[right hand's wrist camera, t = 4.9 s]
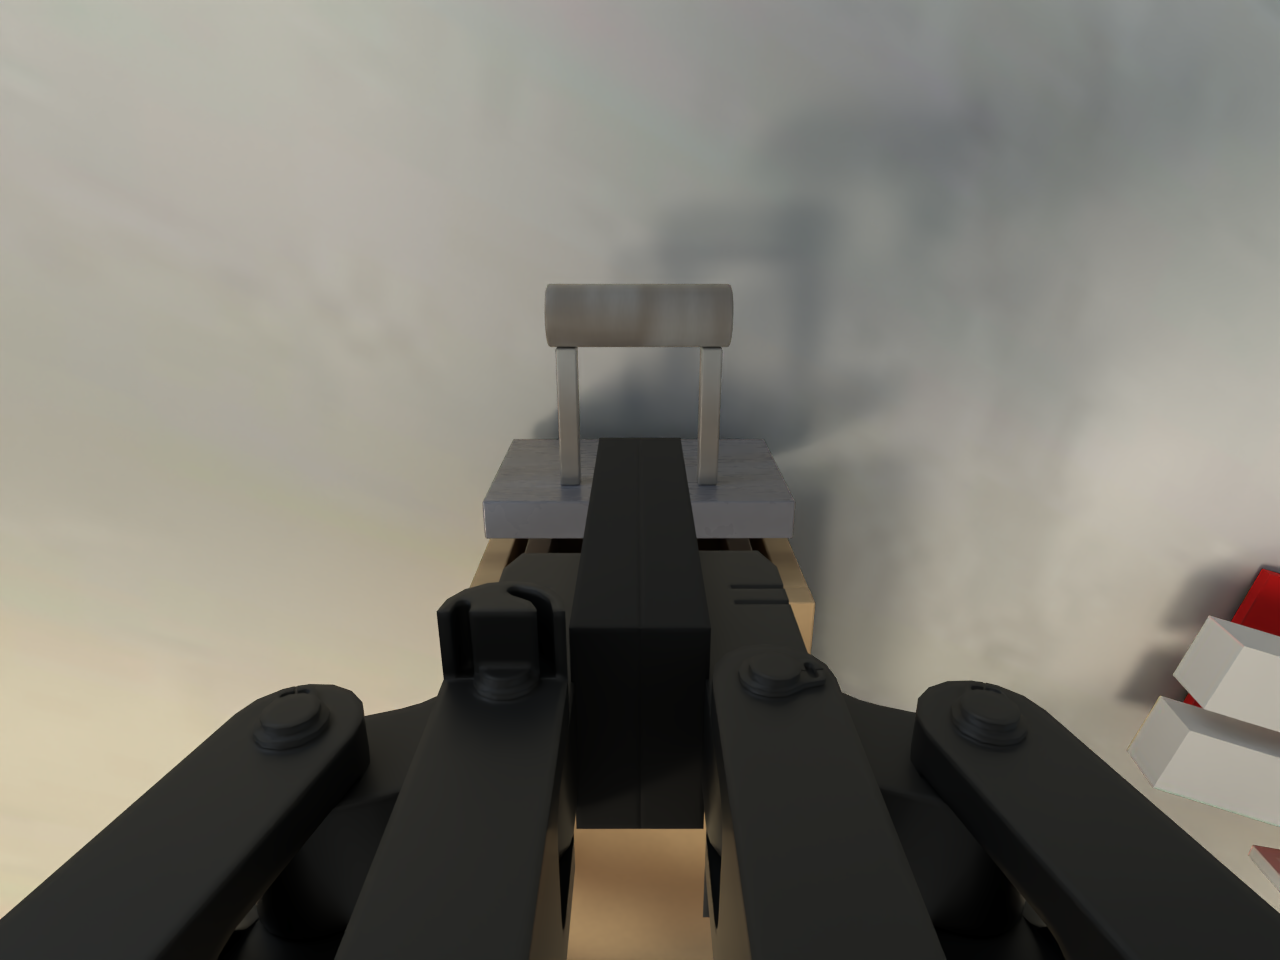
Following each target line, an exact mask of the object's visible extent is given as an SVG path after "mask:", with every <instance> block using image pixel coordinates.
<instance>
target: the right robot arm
mask: <svg viewBox="0 0 1280 960" xmlns="http://www.w3.org/2000/svg"><path fill="white" fill-rule="evenodd" d="M437 619H438V629H439V638H440V648H441V657H442V666H443V676H444V680H443V683H442V685H441V688H440V690H439V693H438V696H436V697H434V698H432V699H430V700H427V701H425V702H423V703H420V704H416V705H413V706H409V707H406V708H402V709H397V710H392V711H388V712H383V713H378V714H373V715H368V716H364V710H363V703H362V701H361V700H360V699H359V698H358V697H357V696H356V695H355V694H354V693H353V692H352V691H350V690H347V689H344V688H341V687H338V686H335V685H322V684H307V685H301V686H297V687H295V686H294V687H290V688H286V689H282V690H280V691H277V692H275V693H272V694H270V695H267V696H265V697H262V698H260V699H257V700H256V701H254V702H253V703H251V704H250V705H248V706H247V707H245V708H244V709H242V710H241V711H239V712H238V713H236V714H235V715H234V716H233V717H231V718H230V719H229V720H228V721H227V722H226V723H225V724H223V725H222V726H221V727H220V728H219V729H218V730H217V731H215V732H214V733H213V734H212V735H211V736H210V737H209V738H207V739H206V740H205V741H204V742H203V743H202V744H201V745H199V746H198V747H197V748H196V749H195V750H194V751H193V752H191V753H190V754H189V755H188V756H187V757H186V758H185V759H183V760H182V761H181V762H180V763H179V764H178V765H177V766H175V767H174V768H173V769H172V770H171V771H170V772H169V773H167V774H166V775H165V776H164V777H163V778H162V779H161V780H159V781H158V782H157V783H156V784H155V785H154V786H153V787H151V788H150V789H149V790H148V791H147V792H146V793H145V794H143V795H142V796H141V797H140V798H139V799H138V800H137V801H135V802H134V803H133V804H132V805H131V806H130V807H129V808H127V809H126V810H125V811H124V812H123V813H122V814H121V815H119V816H118V817H117V818H116V819H115V820H114V821H113V822H111V823H110V824H109V825H108V826H107V827H106V828H105V829H103V830H102V831H101V832H100V833H99V834H98V835H97V836H95V837H94V838H93V839H92V840H91V841H90V842H89V843H87V844H86V845H85V846H84V847H83V848H82V849H80V850H79V851H78V852H77V853H76V854H75V855H74V856H72V857H71V858H70V859H69V860H68V861H67V862H66V863H64V864H63V865H62V866H61V867H60V868H59V869H58V870H56V871H55V872H54V873H53V874H52V875H51V876H50V877H48V878H47V879H46V880H45V881H44V882H43V883H42V884H40V885H39V886H38V887H37V888H36V889H35V890H34V891H32V892H31V893H30V894H29V895H28V896H27V897H26V898H24V899H23V900H22V901H21V902H20V903H19V904H18V905H16V906H15V907H14V908H13V909H12V910H11V911H10V912H8V913H7V914H6V915H5V916H4V917H3V918H2V919H0V960H567V952H568V941H569V930H570V919H571V908H572V897H573V886H574V875H575V848H574V826H575V816H576V829H704V812H705V822H706V848H705V874H704V899H703V917H709V918H710V929H711V939H712V950H713V960H1280V913H1278V912H1277V911H1276V910H1275V909H1274V908H1273V907H1272V906H1270V905H1269V904H1268V903H1267V902H1266V901H1265V900H1263V899H1262V898H1261V897H1260V896H1259V895H1258V894H1257V893H1255V892H1254V891H1253V890H1252V889H1251V888H1250V887H1248V886H1247V885H1246V884H1245V883H1244V882H1243V881H1242V880H1240V879H1239V878H1238V877H1237V876H1236V875H1235V874H1233V873H1232V872H1231V871H1230V870H1229V869H1228V868H1227V867H1225V866H1224V865H1223V864H1222V863H1221V862H1220V861H1219V860H1217V859H1216V858H1215V857H1214V856H1213V855H1212V854H1210V853H1209V852H1208V851H1207V850H1206V849H1205V848H1204V847H1202V846H1201V845H1200V844H1199V843H1198V842H1197V841H1195V840H1194V839H1193V838H1192V837H1191V836H1190V835H1189V834H1187V833H1186V832H1185V831H1184V830H1183V829H1182V828H1180V827H1179V826H1178V825H1177V824H1176V823H1175V822H1174V821H1172V820H1171V819H1170V818H1169V817H1168V816H1167V815H1165V814H1164V813H1163V812H1162V811H1161V810H1160V809H1159V808H1157V807H1156V806H1155V805H1154V804H1153V803H1152V802H1150V801H1149V800H1148V799H1147V798H1146V797H1145V796H1144V795H1142V794H1141V793H1140V792H1139V791H1138V790H1137V789H1135V788H1134V787H1133V786H1132V785H1131V784H1130V783H1129V782H1127V781H1126V780H1125V779H1124V778H1123V777H1122V776H1120V775H1119V774H1118V773H1117V772H1116V771H1115V770H1114V769H1112V768H1111V767H1110V766H1109V765H1108V764H1107V763H1106V762H1104V761H1103V760H1102V759H1101V758H1100V757H1099V756H1097V755H1096V754H1095V753H1094V752H1093V751H1092V750H1091V749H1089V748H1088V747H1087V746H1086V745H1085V744H1084V743H1082V742H1081V741H1080V740H1079V739H1078V738H1077V737H1076V736H1074V735H1073V734H1072V733H1071V732H1070V731H1069V730H1067V729H1066V728H1065V727H1064V726H1063V725H1062V724H1061V723H1059V722H1058V721H1057V720H1056V719H1055V718H1054V717H1052V716H1051V715H1050V714H1049V713H1048V712H1047V711H1046V710H1044V709H1043V708H1041V707H1040V706H1038V705H1037V704H1035V703H1034V702H1032V701H1031V700H1029V699H1028V698H1026V697H1025V696H1023V695H1020V694H1017V693H1015V692H1012V691H1010V690H1007V689H1005V688H1002V687H1000V686H997V685H993V684H989V683H983V682H976V681H947V682H944V683H941V684H938V685H935V686H932V687H929V688H928V689H927V690H926V691H925V692H924V693H923V694H922V695H921V696H920V697H919V698H918V703H917V710H916V713H914V712H909V711H904V710H899V709H894V708H889V707H884V706H880V705H876V704H872V703H869V702H865V701H861V700H858V699H856V698H854V697H851V696H849V695H847V694H845V693H842V692H841V689H840V687H839V684H838V682H837V679H836V677H835V676H834V675H833V673H832V672H831V671H830V669H829V668H828V666H827V665H826V664H824V663H823V662H821V661H820V660H818V659H817V658H815V657H814V656H812V655H811V654H809V653H808V652H807V649H806V646H805V644H804V641H803V638H802V635H801V632H800V630H799V627H798V624H797V621H796V618H795V616H794V613H793V610H792V607H791V605H790V604H789V599H788V596H787V593H786V591H785V589H784V588H783V582H782V579H781V577H780V574H779V571H778V568H777V566H776V565H774V564H773V563H772V562H771V561H770V560H768V559H767V558H766V557H765V556H763V555H762V554H761V553H760V552H758V551H699V549H698V543H697V537H696V531H695V524H694V518H693V512H692V506H691V500H690V493H689V487H688V481H687V475H686V468H685V462H684V456H683V450H682V443H681V438H599V443H598V450H597V456H596V462H595V468H594V475H593V481H592V487H591V493H590V500H589V506H588V512H587V518H586V524H585V531H584V537H583V543H582V549H581V553H522V554H521V555H520V556H519V557H517V558H516V559H515V560H514V561H513V562H511V563H510V564H509V565H508V566H506V567H505V568H504V569H503V571H502V574H501V577H500V580H499V582H493V583H485V584H482V585H479V586H475V587H472V588H468V589H465V590H463V591H461V592H459V593H458V594H456V595H454V596H452V597H450V598H449V599H447V600H446V601H445V602H444V604H443V605H442V606H441V607H440V608H439V609H438V611H437Z"/></svg>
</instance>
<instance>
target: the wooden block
mask: <svg viewBox="0 0 1280 960" xmlns="http://www.w3.org/2000/svg"><path fill="white" fill-rule="evenodd" d="M528 540H529V538H496V539H490V540H489V543H488V545H487V547H486V550H485V552H484V555H483V557H482V559H481V562H480V564H479V567H478V569H477V571H476V574H475V576H474V579H473V581H472V583H471V586H470V588H472V587H475V586H479V585H482V584H485V583H493V582H499V580H500V577H501V574H502V571H503V569H504V568H505V567H506V566H508V565H509V564H510V563H511V562H513V561H514V560H515V559H516V558H517V557H519V556H520V555H521V554H522V553H525V550H526V547H527V543H528ZM749 541H750V544H751V547H752V551H758V552H760V553H761V554H762V555H763V556H765V557H766V558H767V559H768V560H770V561H771V562H772V563H773V564H774V565H776V566H777V568H778V571H779V574H780V577H781V579H782V582H783V588H784V589H785V591H786V593H787V596H788V599H789V604H790V605H791V607H792V610H793V613H794V616H795V618H796V621H797V624H798V627H799V630H800V632H801V635H802V638H803V641H804V644H805V646H806V649H807V652H808V653H809V654H811V646H812V635H813V624H814V613H815V601H814V599H813V597H812V594H811V592H810V590H809V588H808V586H807V583H806V581H805V579H804V576H803V574H802V572H801V569H800V567H799V565H798V562H797V560H796V557H795V555H794V553H793V550H792V548H791V546H790V543H789V541H788V539H787V538H749ZM574 848H575V875H574V886H573V897H572V908H571V919H570V930H569V941H568V952H567V960H713V950H712V939H711V929H710V918H709V917H703V899H704V874H705V848H706V822H705V812H704V829H576V816H575V826H574Z"/></svg>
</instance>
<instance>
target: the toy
mask: <svg viewBox="0 0 1280 960" xmlns="http://www.w3.org/2000/svg"><path fill="white" fill-rule="evenodd" d="M1173 676H1174V677H1175V678H1176V679H1177V680H1178V681H1179V682H1180V684H1181V685H1182V686H1183V687H1184V688H1185V689H1186V690H1187V691H1188V692H1189V693H1188V695H1187V696H1186V698H1185V700H1184V701H1183V702H1180V701H1177V700H1173V699H1170V698H1167V697H1164V696H1159V698H1158V700H1157V701H1156V703H1155V705H1154V706H1153V708H1152V709H1151V711H1150V713H1149V714H1148V716H1147V718H1146V719H1145V721H1144V722H1143V724H1142V726H1141V727H1140V729H1139V731H1138V732H1137V734H1136V735H1135V737H1134V739H1133V740H1132V742H1131V744H1130V745H1129V747H1128V749H1127V751H1128V753H1129V754H1130V756H1131V757H1132V759H1133V760H1134V761H1135V763H1136V764H1137V766H1138V767H1139V769H1140V770H1141V771H1142V773H1143V774H1144V776H1145V777H1146V779H1147V780H1148V781H1149V783H1150V784H1151V786H1152V787H1153V788H1155V789H1158V790H1162V791H1165V792H1168V793H1171V794H1174V795H1178V796H1181V797H1184V798H1187V799H1191V800H1194V801H1197V802H1200V803H1203V804H1207V805H1210V806H1213V807H1216V808H1220V809H1223V810H1226V811H1229V812H1232V813H1236V814H1239V815H1242V816H1245V817H1249V818H1252V819H1255V820H1258V821H1261V822H1265V823H1268V824H1271V825H1274V826H1278V827H1280V573H1276V572H1273V571H1269V570H1266V569H1262V570H1261V571H1260V573H1259V575H1258V576H1257V578H1256V580H1255V582H1254V583H1253V585H1252V587H1251V588H1250V590H1249V592H1248V593H1247V595H1246V597H1245V598H1244V600H1243V602H1242V603H1241V605H1240V607H1239V609H1238V610H1237V612H1236V614H1235V615H1234V617H1233V619H1232V620H1231V622H1230V621H1226V620H1223V619H1220V618H1216V617H1213V616H1210V615H1209V617H1208V618H1207V620H1206V621H1205V623H1204V625H1203V626H1202V628H1201V630H1200V631H1199V633H1198V634H1197V636H1196V638H1195V639H1194V641H1193V643H1192V644H1191V646H1190V647H1189V649H1188V651H1187V652H1186V654H1185V656H1184V657H1183V659H1182V661H1181V662H1180V664H1179V665H1178V667H1177V669H1176V670H1175V672H1174V674H1173ZM1248 856H1249V857H1250V859H1251V860H1252V861H1253V862H1254V863H1255V864H1256V865H1257V867H1258V868H1259V869H1260V870H1261V871H1262V872H1263V873H1264V875H1265V876H1266V877H1267V878H1268V879H1269V880H1270V882H1271V883H1272V884H1273V885H1274V886H1275V887H1276V888H1277V890H1278V891H1279V892H1280V850H1279V849H1273V848H1268V847H1262V846H1256V845H1253V846H1252V848H1251V850H1250V852H1249V854H1248Z"/></svg>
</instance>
